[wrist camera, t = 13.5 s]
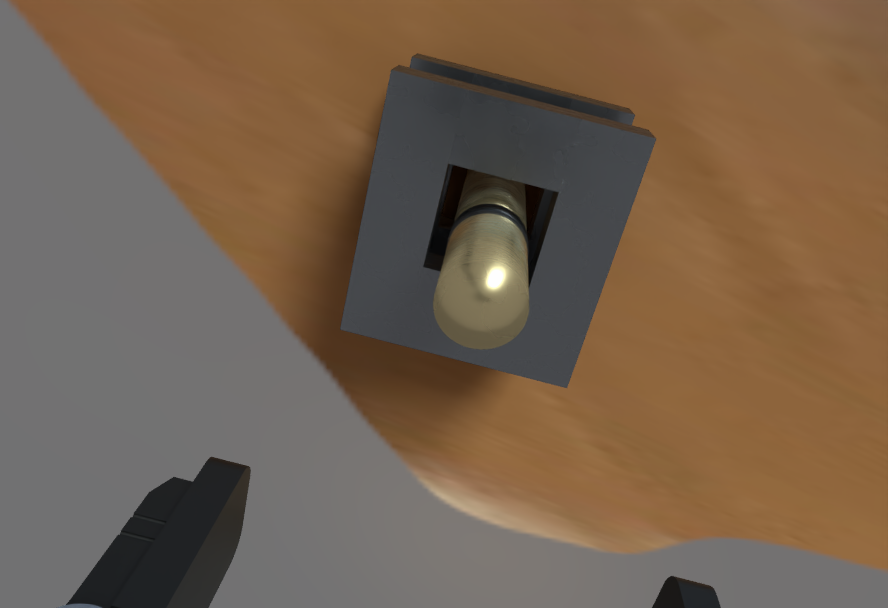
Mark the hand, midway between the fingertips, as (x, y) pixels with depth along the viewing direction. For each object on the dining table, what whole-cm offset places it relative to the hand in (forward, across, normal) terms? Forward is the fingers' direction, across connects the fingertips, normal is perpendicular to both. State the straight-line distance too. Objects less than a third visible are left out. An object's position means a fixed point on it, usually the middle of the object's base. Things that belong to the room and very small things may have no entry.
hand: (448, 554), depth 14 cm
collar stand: (+30, 0, 0) cm, 30 cm away
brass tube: (+30, 0, 0) cm, 30 cm away
